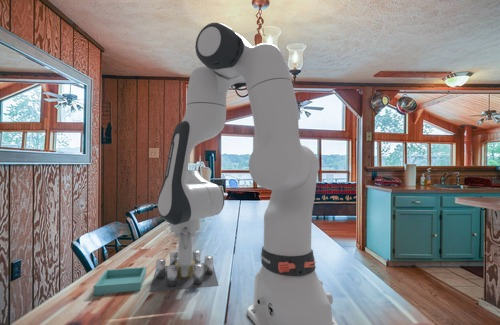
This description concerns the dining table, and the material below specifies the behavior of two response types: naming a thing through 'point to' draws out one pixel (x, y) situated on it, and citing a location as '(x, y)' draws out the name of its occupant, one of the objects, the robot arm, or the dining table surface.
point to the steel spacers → (173, 268)
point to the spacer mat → (183, 282)
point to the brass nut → (190, 271)
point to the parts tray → (120, 281)
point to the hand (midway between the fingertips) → (184, 270)
